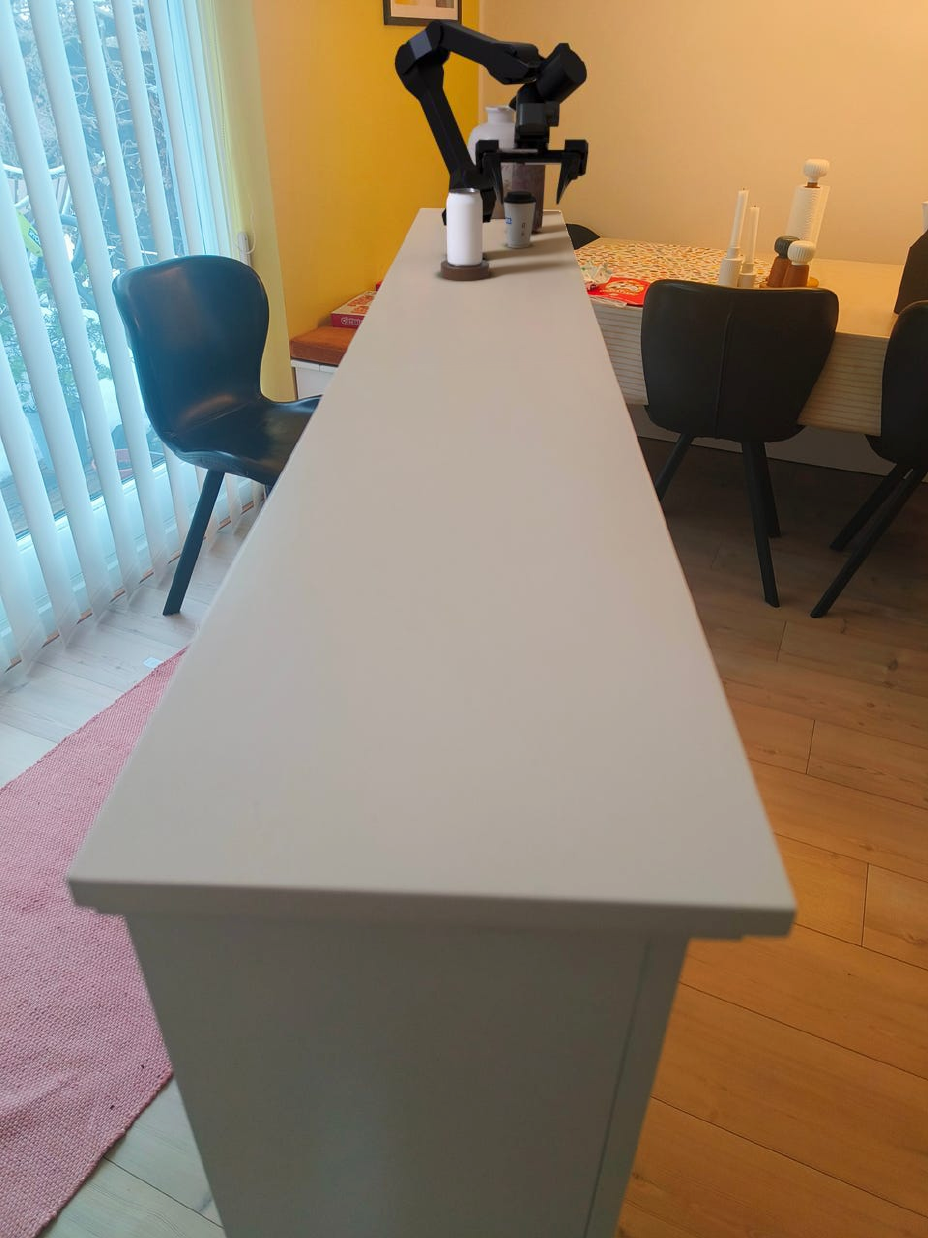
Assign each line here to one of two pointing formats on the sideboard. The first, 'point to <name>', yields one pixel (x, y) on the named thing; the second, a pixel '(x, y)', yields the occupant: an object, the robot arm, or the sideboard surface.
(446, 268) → the coaster
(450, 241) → the can
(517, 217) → the coffee cup
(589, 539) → the sideboard surface
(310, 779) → the sideboard surface
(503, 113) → the vase
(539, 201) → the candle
